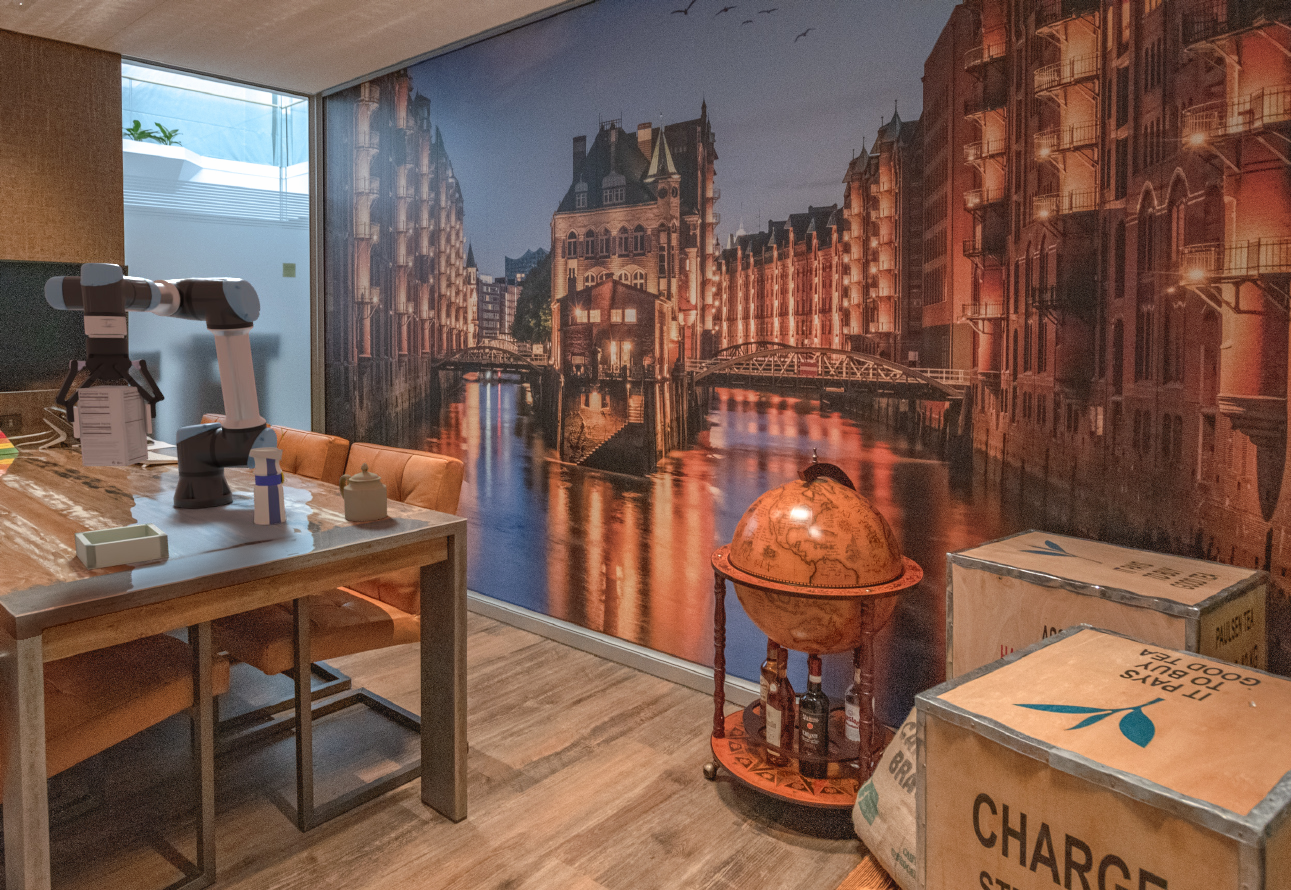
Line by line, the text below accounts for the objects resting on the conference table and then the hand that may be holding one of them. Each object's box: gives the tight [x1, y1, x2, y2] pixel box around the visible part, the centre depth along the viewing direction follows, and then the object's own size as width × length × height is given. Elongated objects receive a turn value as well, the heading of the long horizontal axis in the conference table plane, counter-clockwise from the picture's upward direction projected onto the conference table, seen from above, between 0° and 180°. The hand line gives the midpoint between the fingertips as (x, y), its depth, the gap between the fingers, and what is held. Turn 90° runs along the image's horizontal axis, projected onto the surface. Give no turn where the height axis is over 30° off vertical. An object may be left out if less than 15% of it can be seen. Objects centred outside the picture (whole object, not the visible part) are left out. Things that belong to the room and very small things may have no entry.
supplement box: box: [75, 385, 149, 467], centre depth 176 cm, size 10×9×17 cm
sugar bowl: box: [338, 462, 388, 522], centre depth 219 cm, size 15×11×15 cm
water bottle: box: [249, 427, 287, 526], centre depth 212 cm, size 8×9×25 cm
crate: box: [74, 522, 170, 570], centre depth 179 cm, size 15×15×5 cm
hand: (114, 435), depth 176 cm, fingers closed on supplement box, 12 cm apart
